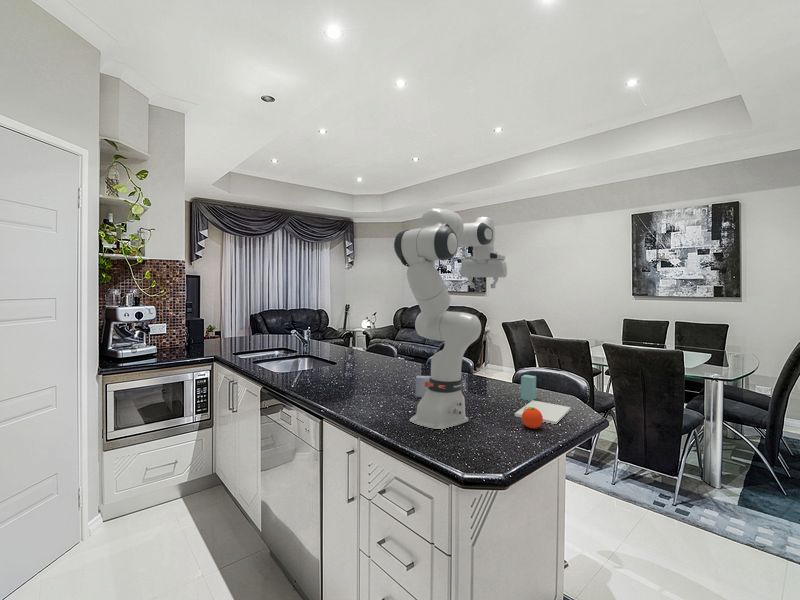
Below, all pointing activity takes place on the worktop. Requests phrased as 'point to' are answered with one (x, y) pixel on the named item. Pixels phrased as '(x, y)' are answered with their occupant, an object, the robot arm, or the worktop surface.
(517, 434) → the worktop surface
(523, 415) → the clementine
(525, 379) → the teal block
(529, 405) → the white cutting board
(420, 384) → the medicine box
